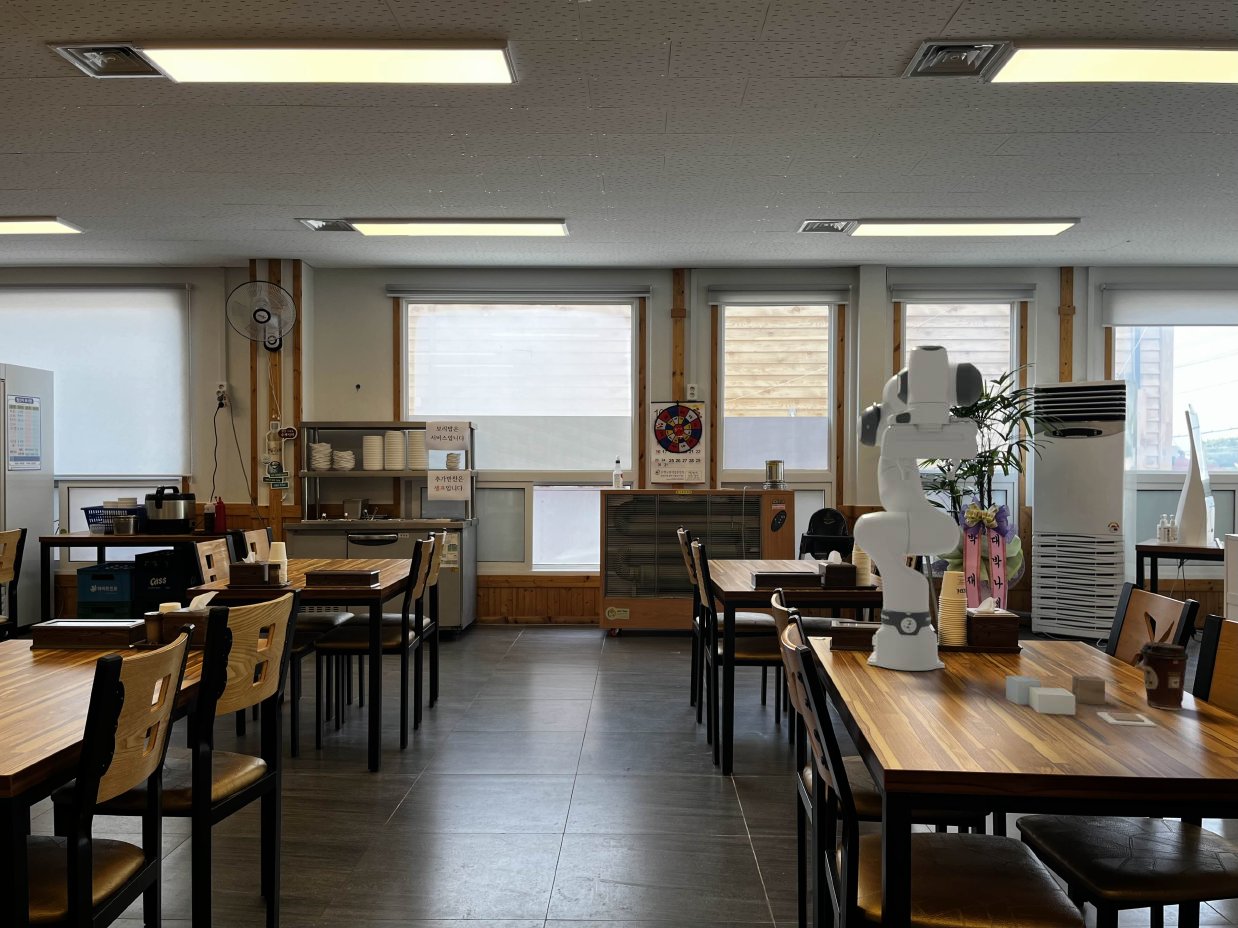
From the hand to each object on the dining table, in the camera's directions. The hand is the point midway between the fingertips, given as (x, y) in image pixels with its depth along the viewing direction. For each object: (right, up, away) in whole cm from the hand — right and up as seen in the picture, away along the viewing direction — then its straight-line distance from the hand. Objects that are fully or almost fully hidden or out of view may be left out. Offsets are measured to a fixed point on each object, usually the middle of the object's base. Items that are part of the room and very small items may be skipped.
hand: (928, 479), depth 201 cm
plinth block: (+20, -47, -15) cm, 53 cm away
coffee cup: (+45, -47, -11) cm, 67 cm away
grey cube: (+18, -47, -8) cm, 51 cm away
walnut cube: (+32, -47, -7) cm, 57 cm away
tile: (+31, -47, -23) cm, 61 cm away
